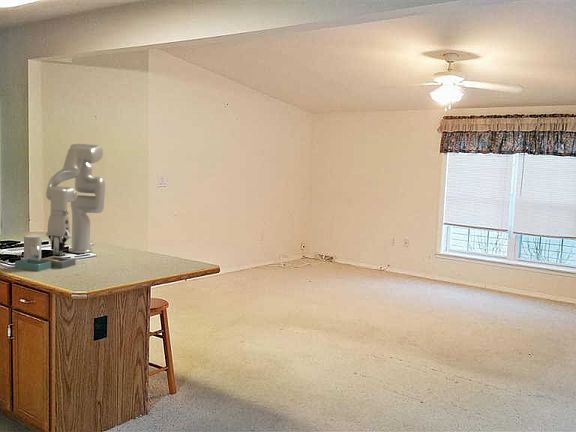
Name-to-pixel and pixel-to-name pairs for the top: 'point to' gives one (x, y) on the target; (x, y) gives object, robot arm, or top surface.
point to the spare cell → (35, 252)
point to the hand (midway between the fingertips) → (57, 249)
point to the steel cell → (56, 245)
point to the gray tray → (60, 261)
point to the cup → (31, 244)
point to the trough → (33, 264)
